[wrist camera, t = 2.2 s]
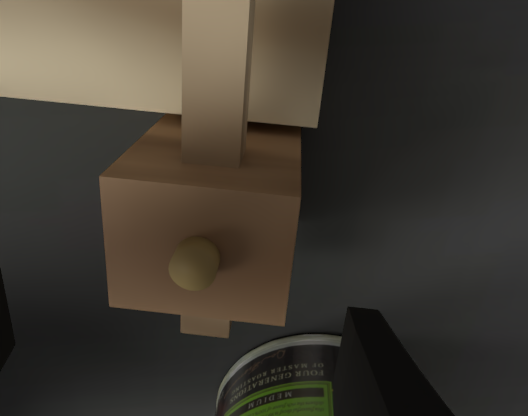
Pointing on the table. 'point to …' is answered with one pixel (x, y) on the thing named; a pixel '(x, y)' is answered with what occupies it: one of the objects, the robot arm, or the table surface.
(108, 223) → the gauge
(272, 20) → the board
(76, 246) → the table surface
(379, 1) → the table surface
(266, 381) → the coffee can
